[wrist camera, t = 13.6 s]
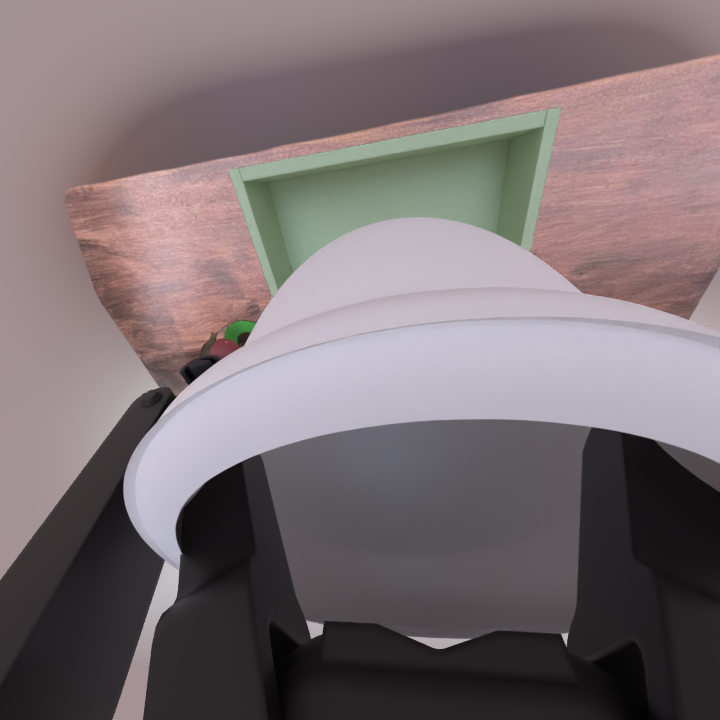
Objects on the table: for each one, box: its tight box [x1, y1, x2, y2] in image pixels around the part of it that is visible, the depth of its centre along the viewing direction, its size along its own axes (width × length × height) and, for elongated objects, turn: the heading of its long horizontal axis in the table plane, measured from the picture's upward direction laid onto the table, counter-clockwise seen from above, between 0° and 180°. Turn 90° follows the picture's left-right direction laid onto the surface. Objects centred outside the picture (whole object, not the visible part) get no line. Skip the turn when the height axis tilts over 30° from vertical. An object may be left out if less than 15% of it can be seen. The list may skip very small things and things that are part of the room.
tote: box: [229, 107, 561, 298], centre depth 24 cm, size 22×17×6 cm
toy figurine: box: [201, 321, 256, 360], centre depth 48 cm, size 12×13×15 cm
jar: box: [123, 217, 720, 639], centre depth 11 cm, size 11×10×15 cm
